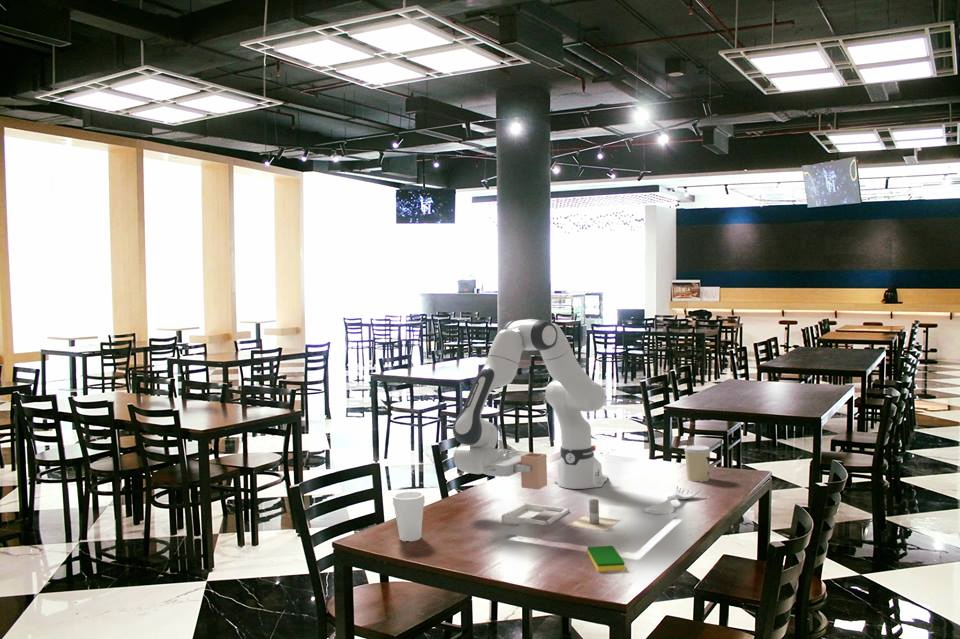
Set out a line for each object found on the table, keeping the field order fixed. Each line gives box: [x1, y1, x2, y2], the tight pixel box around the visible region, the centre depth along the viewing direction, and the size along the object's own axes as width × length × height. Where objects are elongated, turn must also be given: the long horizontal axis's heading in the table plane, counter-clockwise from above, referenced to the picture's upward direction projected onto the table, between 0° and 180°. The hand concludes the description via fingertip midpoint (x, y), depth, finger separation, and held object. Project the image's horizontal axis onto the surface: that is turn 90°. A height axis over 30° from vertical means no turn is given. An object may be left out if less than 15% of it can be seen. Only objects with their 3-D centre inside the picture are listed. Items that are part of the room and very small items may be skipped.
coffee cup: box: [684, 444, 711, 483], centre depth 290 cm, size 9×9×12 cm
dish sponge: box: [587, 545, 626, 573], centre depth 206 cm, size 7×14×2 cm, turn 3°
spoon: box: [643, 485, 702, 515], centre depth 256 cm, size 9×32×4 cm, turn 144°
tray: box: [501, 502, 570, 527], centre depth 246 cm, size 16×16×2 cm
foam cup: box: [392, 490, 425, 542], centre depth 232 cm, size 10×9×13 cm
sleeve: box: [520, 452, 548, 491], centre depth 246 cm, size 6×6×10 cm
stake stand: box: [568, 498, 621, 532], centre depth 236 cm, size 12×12×8 cm
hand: (536, 466), depth 245 cm, fingers closed on sleeve, 6 cm apart
